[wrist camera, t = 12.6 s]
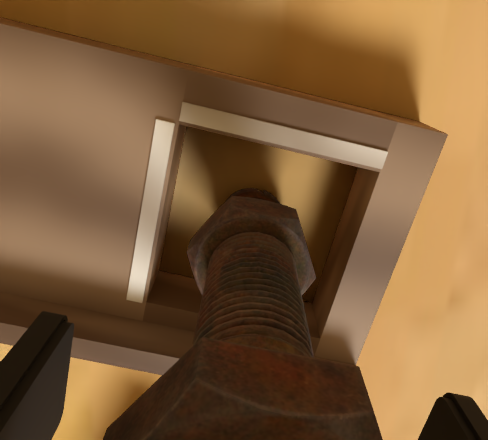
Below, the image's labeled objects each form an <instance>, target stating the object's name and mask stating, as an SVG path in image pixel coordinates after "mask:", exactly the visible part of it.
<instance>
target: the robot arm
mask: <svg viewBox="0 0 488 440" xmlns="http://www.w3.org/2000/svg"><path fill="white" fill-rule="evenodd" d="M73 333H74V323H70V322H68V318H67V316H66V315H62V314H57V313H52V312H47V311H42V312H41V313H40V314H39V315H38V317H37V318H36V319H35V320H34V322H33V323H32V324H31V325H30V327H29V328H28V329H27V330H26V331H25V333H24V334H23V335H22V336H21V338H20V339H19V340H18V341H17V343H16V344H15V345H14V346H13V348H12V349H11V350H10V351H9V353H8V354H7V355H6V356H5V357H4V359H3V360H2V361H0V440H51V439H52V437H53V435H54V433H55V431H56V430H57V428H58V425H59V423H60V420H61V417H62V414H63V409H64V401H65V394H66V386H67V379H68V371H69V363H70V356H71V348H72V341H73ZM418 440H488V420H487V419H486V417H485V416H484V414H483V413H482V411H481V410H480V408H479V407H478V405H477V404H476V403H475V401H474V400H473V399H472V398H471V397H468V396H463V395H458V394H453V393H446V394H445V395H443V397H439V398H438V399H437V400H436V402H435V404H434V406H433V408H432V410H431V412H430V415H429V417H428V419H427V421H426V423H425V425H424V427H423V430H422V432H421V434H420V436H419V438H418Z"/></svg>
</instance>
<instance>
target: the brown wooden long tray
mask: <svg viewBox="0 0 488 440" xmlns="http://www.w3.org/2000/svg"><path fill="white" fill-rule="evenodd" d="M186 126H188V127H193V128H197V129H201V130H205V131H209V132H214V133H218V134H222V135H226V136H230V137H234V138H239V139H243V140H247V141H251V142H255V143H260V144H264V145H268V146H272V147H276V148H280V149H285V150H289V151H293V152H297V153H301V154H306V155H310V156H314V157H318V158H322V159H326V160H331V161H335V162H339V163H343V164H347V165H352V166H356V167H358V169H357V172H356V175H355V178H354V181H353V184H352V187H351V190H350V193H349V196H348V199H347V201H346V204H345V207H344V210H343V213H342V216H341V219H340V222H339V225H338V228H337V231H336V234H335V237H334V240H333V243H332V246H331V249H330V252H329V255H328V258H327V261H326V264H325V267H324V270H323V273H322V276H321V279H320V281H319V284H318V287H317V290H316V293H315V296H314V299H313V302H312V304H311V303H307V302H303V304H304V312H305V314H306V320H307V325H308V328H309V334H310V340H311V343H312V349H313V356H314V358H318V359H323V360H328V361H333V362H338V363H343V364H348V365H353V366H356V363H357V360H358V358H359V355H360V353H361V350H362V348H363V345H364V343H365V340H366V338H367V335H368V333H369V330H370V328H371V325H372V323H373V320H374V318H375V315H376V313H377V310H378V308H379V305H380V303H381V300H382V298H383V295H384V293H385V290H386V288H387V285H388V283H389V280H390V278H391V275H392V273H393V270H394V268H395V265H396V263H397V260H398V258H399V255H400V253H401V250H402V248H403V245H404V243H405V240H406V238H407V235H408V233H409V230H410V228H411V225H412V223H413V220H414V218H415V215H416V213H417V210H418V208H419V205H420V203H421V200H422V198H423V195H424V193H425V190H426V188H427V185H428V183H429V180H430V178H431V175H432V173H433V171H434V168H435V166H436V163H437V161H438V158H439V156H440V153H441V151H442V148H443V146H444V143H445V141H446V138H447V136H448V134H446V133H444V132H441V131H439V130H437V129H435V128H432V127H430V126H428V125H426V124H424V123H421V122H418V121H414V120H410V119H406V118H402V117H398V116H394V115H390V114H386V113H382V112H378V111H374V110H370V109H366V108H362V107H358V106H354V105H350V104H346V103H342V102H338V101H334V100H330V99H326V98H322V97H318V96H314V95H310V94H306V93H302V92H298V91H294V90H290V89H286V88H282V87H278V86H274V85H270V84H266V83H262V82H258V81H254V80H250V79H246V78H242V77H238V76H234V75H230V74H226V73H222V72H218V71H214V70H210V69H206V68H202V67H198V66H194V65H190V64H186V63H182V62H178V61H174V60H170V59H166V58H162V57H158V56H154V55H149V54H145V53H141V52H137V51H133V50H129V49H125V48H121V47H117V46H113V45H109V44H105V43H101V42H97V41H93V40H89V39H85V38H81V37H77V36H73V35H69V34H65V33H61V32H57V31H53V30H49V29H45V28H41V27H37V26H33V25H29V24H25V23H21V22H17V21H13V20H9V19H5V18H1V17H0V343H3V344H8V345H13V346H14V345H15V344H16V343H17V341H18V340H19V339H20V338H21V336H22V335H23V334H24V333H25V331H26V330H27V329H28V328H29V327H30V325H31V324H32V323H33V322H34V320H35V319H36V318H37V317H38V315H39V314H40V313H41V312H42V311H47V312H52V313H57V314H62V315H66V316H67V318H68V322H70V323H74V333H73V341H72V348H71V356H70V357H73V358H78V359H83V360H88V361H93V362H99V363H104V364H109V365H114V366H119V367H124V368H129V369H134V370H139V371H144V372H149V373H154V374H159V375H163V374H164V373H165V372H166V371H168V370H169V369H170V368H171V367H172V366H173V365H174V364H175V363H176V362H177V361H178V360H179V359H180V358H181V357H182V356H183V355H184V354H185V353H186V352H187V351H188V350H189V349H190V348H191V347H192V344H193V339H194V334H195V329H196V324H197V319H198V314H199V311H200V304H201V299H202V294H201V292H200V290H199V288H198V286H197V283H196V281H195V278H190V277H186V276H181V275H176V274H172V273H167V272H163V271H159V267H160V262H161V257H162V252H163V246H164V241H165V236H166V231H167V225H168V220H169V215H170V210H171V204H172V199H173V194H174V189H175V183H176V178H177V173H178V167H179V162H180V157H181V152H182V146H183V141H184V136H185V131H186Z"/></svg>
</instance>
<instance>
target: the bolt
mask: <svg viewBox="0 0 488 440" xmlns="http://www.w3.org/2000/svg"><path fill="white" fill-rule="evenodd" d="M187 255H188V259H189V262H190V266H191V269H192V272H193V275H194V278H195V281H196V283H197V286H198V288H199V290H200V292H201V294H202V299H201V304H200V311H199V314H198V319H197V324H196V329H195V334H194V339H193V344H192V347H191V348H190V349H189V350H188V351H187V352H186V353H185V354H184V355H183V356H182V357H181V358H180V359H179V360H178V361H177V362H176V363H175V364H174V365H173V366H172V367H171V368H170V369H169V370H168V371H166V372H165V373H164V374H163V375H162V376H161V377H160V378H159V379H158V380H157V381H156V382H155V383H154V384H153V385H152V386H151V387H150V388H149V389H148V390H147V391H146V392H145V393H144V394H143V395H142V396H140V397H139V398H138V399H137V400H136V401H135V402H134V403H133V404H132V405H131V406H130V407H129V408H128V409H127V410H126V411H125V412H124V413H123V414H122V415H121V416H120V417H119V418H118V419H117V420H116V421H114V422H113V423H112V424H111V425H110V426H109V427H108V428H107V430H106V433H105V436H104V438H103V440H383V439H382V436H381V433H380V430H379V427H378V423H377V420H376V417H375V414H374V411H373V408H372V405H371V402H370V399H369V396H368V392H367V389H366V386H365V383H364V380H363V377H362V374H361V371H360V368H359V367H358V366H353V365H348V364H343V363H338V362H333V361H328V360H323V359H318V358H314V356H313V349H312V343H311V340H310V334H309V328H308V325H307V320H306V314H305V312H304V304H303V299H302V295H303V294H304V293H305V292H306V290H307V289H308V288H309V287H310V285H311V284H312V283H313V281H314V280H315V279H316V275H315V272H314V268H313V265H312V261H311V258H310V254H309V251H308V247H307V244H306V241H305V237H304V234H303V231H302V227H301V224H300V221H299V218H298V214H297V211H296V209H294V208H291V207H288V206H285V205H282V204H280V203H279V202H278V200H277V199H276V198H275V197H274V196H273V195H272V194H271V193H269V192H267V191H265V190H264V192H263V193H262V191H258V189H254V188H247V189H242V190H239V191H237V192H235V193H233V194H232V195H231V196H230V197H229V198H228V199H227V200H226V202H225V203H224V204H223V205H222V206H221V207H220V208H219V209H218V210H217V211H216V212H215V213H214V214H213V215H212V216H211V217H210V218H209V219H208V220H207V221H206V222H205V223H204V225H203V226H202V227H201V228H200V229H199V230H198V232H197V233H196V234H195V235H194V237H193V238H192V239H191V240H190V243H189V246H188V249H187Z"/></svg>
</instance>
